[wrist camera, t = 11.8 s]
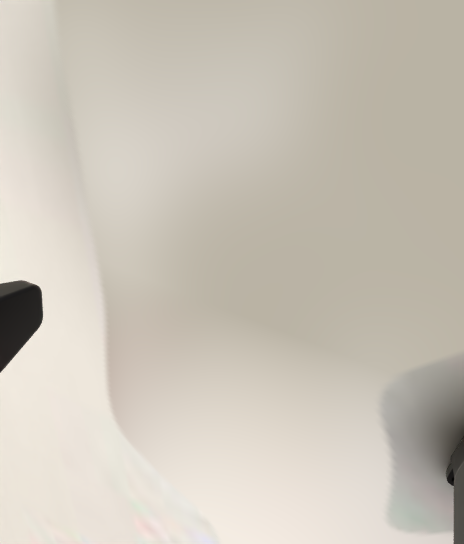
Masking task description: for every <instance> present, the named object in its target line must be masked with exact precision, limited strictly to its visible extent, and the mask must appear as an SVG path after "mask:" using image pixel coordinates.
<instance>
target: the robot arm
mask: <svg viewBox="0 0 464 544" xmlns="http://www.w3.org/2000/svg"><path fill="white" fill-rule="evenodd" d="M42 320H43V307H42V292H41V289H40V287H39V286H37V285H35V284H32V283H29V282H27V281H22V280H20V281H14V282H8V283H2V284H0V373H1V371H2V370H3V369H4V368H5V367H6V366H7V364H8V363H9V362H10V361H11V360H12V359H13V357H14V356H15V355H16V354H17V353H18V352H19V350H20V349H21V348H22V347H23V346H24V345H25V343H26V342H27V341H28V340H29V339H30V338H31V336H32V335H33V334H34V333H35V332H36V331H37V329H38V328H39V327H40V325H41V323H42ZM451 462H452V463H451V464H450V466H449V467H448V469H447V471H446V477H447V481H448V483H449V484H451V485H453V486H454V544H464V437H463V439H462V440H461V442H460V444H459V445H458V447H457V448H456V450H455V451H454V453H453V455H452V456H451Z"/></svg>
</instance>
